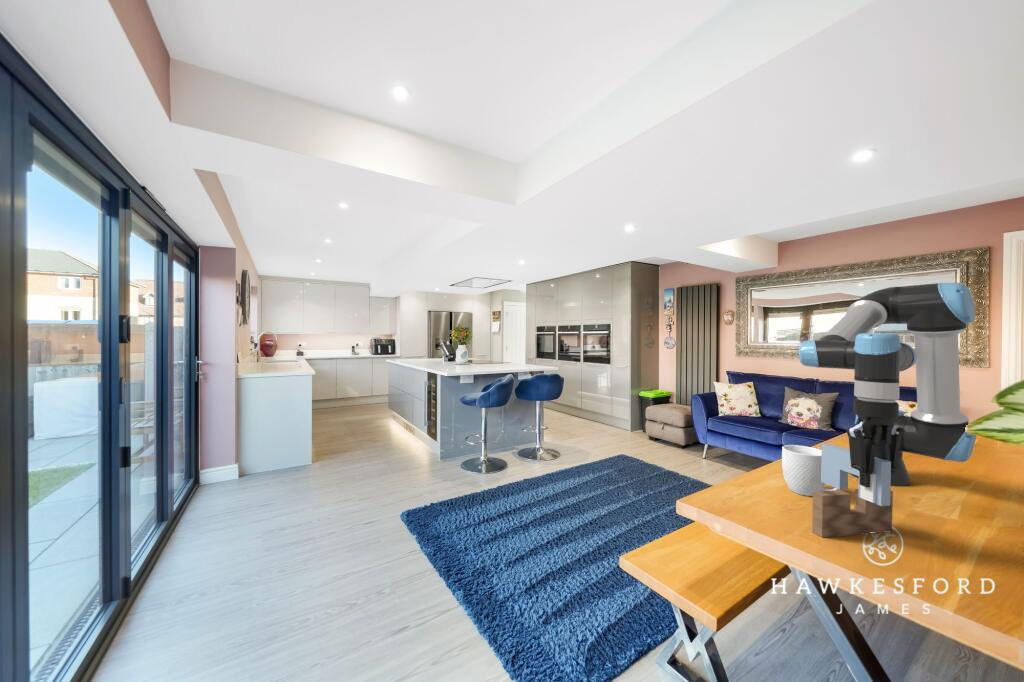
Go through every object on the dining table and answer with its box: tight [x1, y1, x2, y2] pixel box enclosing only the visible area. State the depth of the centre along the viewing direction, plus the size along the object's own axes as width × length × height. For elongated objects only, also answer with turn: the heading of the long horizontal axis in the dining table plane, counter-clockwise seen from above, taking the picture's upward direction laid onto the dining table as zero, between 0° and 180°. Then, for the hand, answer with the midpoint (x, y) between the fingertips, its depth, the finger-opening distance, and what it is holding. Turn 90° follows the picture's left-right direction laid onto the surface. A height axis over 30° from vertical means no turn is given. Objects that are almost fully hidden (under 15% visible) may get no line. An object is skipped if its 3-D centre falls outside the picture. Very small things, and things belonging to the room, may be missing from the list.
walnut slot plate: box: [811, 488, 894, 538], centre depth 91 cm, size 20×2×10 cm, turn 98°
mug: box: [781, 444, 841, 497], centre depth 112 cm, size 15×11×13 cm
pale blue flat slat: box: [821, 443, 892, 506], centre depth 91 cm, size 14×2×10 cm, turn 8°
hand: (873, 499), depth 86 cm, fingers closed on pale blue flat slat, 2 cm apart
